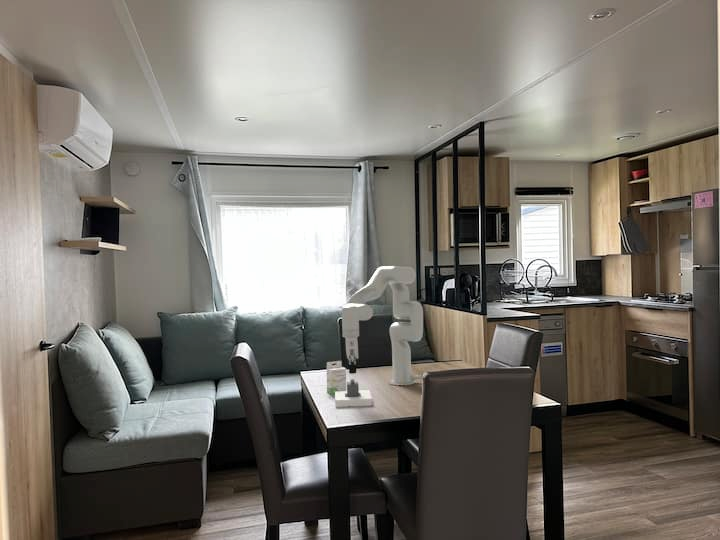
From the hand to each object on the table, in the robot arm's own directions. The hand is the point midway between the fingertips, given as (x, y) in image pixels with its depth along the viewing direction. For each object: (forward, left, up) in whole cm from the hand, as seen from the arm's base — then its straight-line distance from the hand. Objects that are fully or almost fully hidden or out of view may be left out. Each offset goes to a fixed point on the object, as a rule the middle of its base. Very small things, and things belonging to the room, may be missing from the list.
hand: (352, 371), depth 230 cm
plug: (0, 0, -13) cm, 13 cm away
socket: (0, 0, -14) cm, 14 cm away
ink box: (+7, -19, -14) cm, 25 cm away
